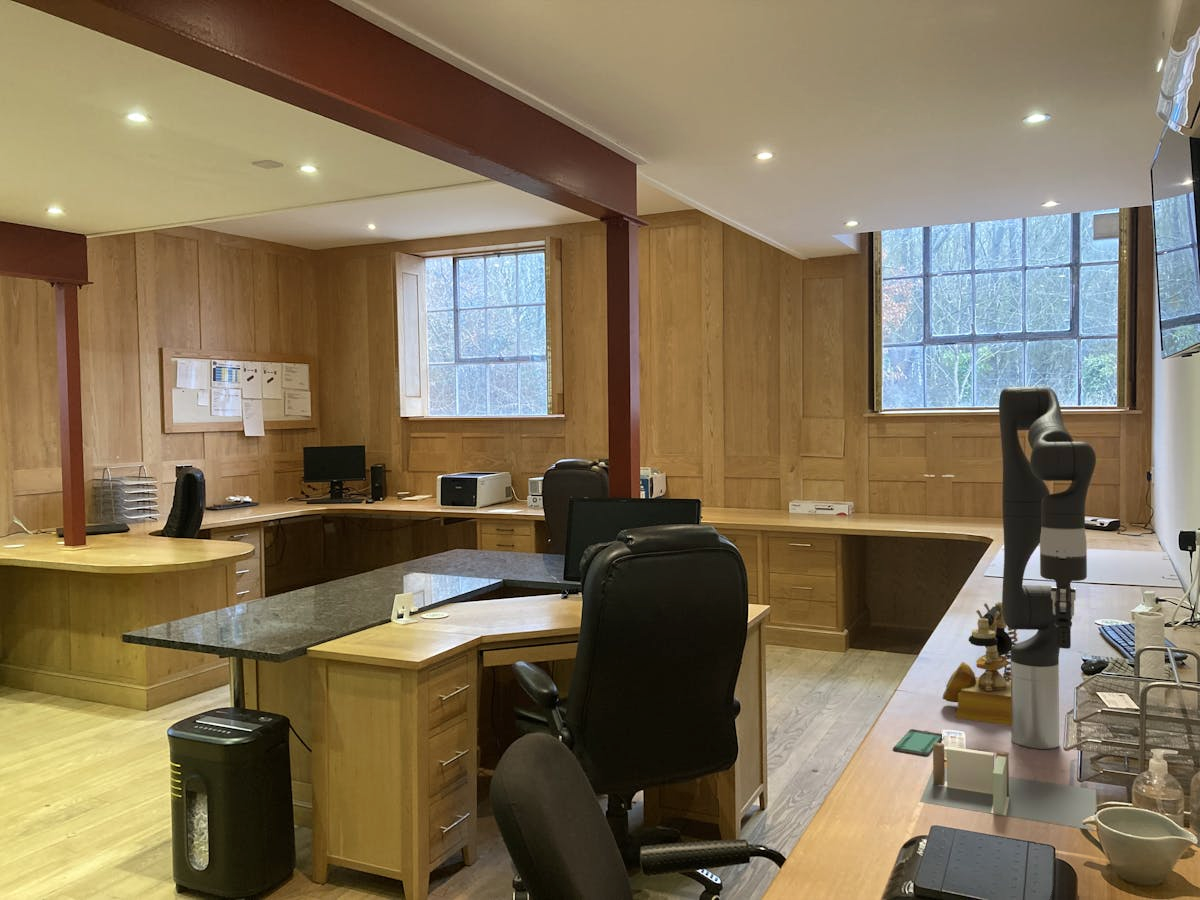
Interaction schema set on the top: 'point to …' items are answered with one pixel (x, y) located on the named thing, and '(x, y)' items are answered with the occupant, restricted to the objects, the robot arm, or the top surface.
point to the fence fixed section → (966, 768)
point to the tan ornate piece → (985, 673)
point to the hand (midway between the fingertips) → (1063, 647)
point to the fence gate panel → (999, 785)
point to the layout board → (1022, 801)
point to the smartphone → (918, 742)
